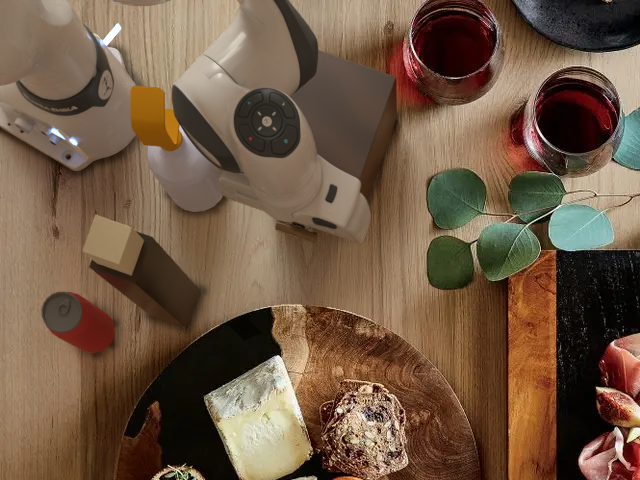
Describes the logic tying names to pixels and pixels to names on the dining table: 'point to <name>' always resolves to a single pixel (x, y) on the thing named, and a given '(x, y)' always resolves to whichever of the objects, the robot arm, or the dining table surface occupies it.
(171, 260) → the plinth
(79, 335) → the beer can
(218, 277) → the dining table surface
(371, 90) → the cabinet
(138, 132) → the soap bottle
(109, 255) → the block
